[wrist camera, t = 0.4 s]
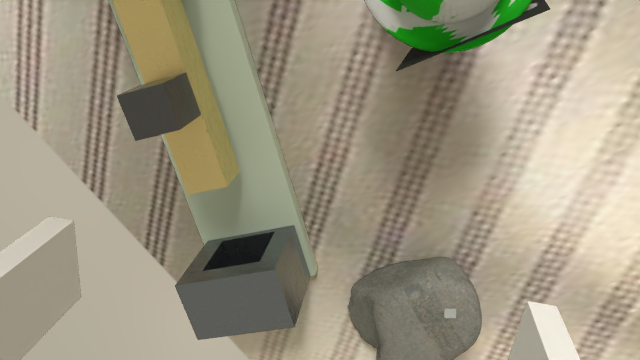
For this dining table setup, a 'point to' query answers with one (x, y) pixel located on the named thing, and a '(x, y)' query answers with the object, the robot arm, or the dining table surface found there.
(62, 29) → the dining table surface
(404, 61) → the toy
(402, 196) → the dining table surface
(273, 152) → the base plank
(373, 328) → the stone
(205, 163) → the sliding bolt
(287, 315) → the socket block
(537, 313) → the robot arm
